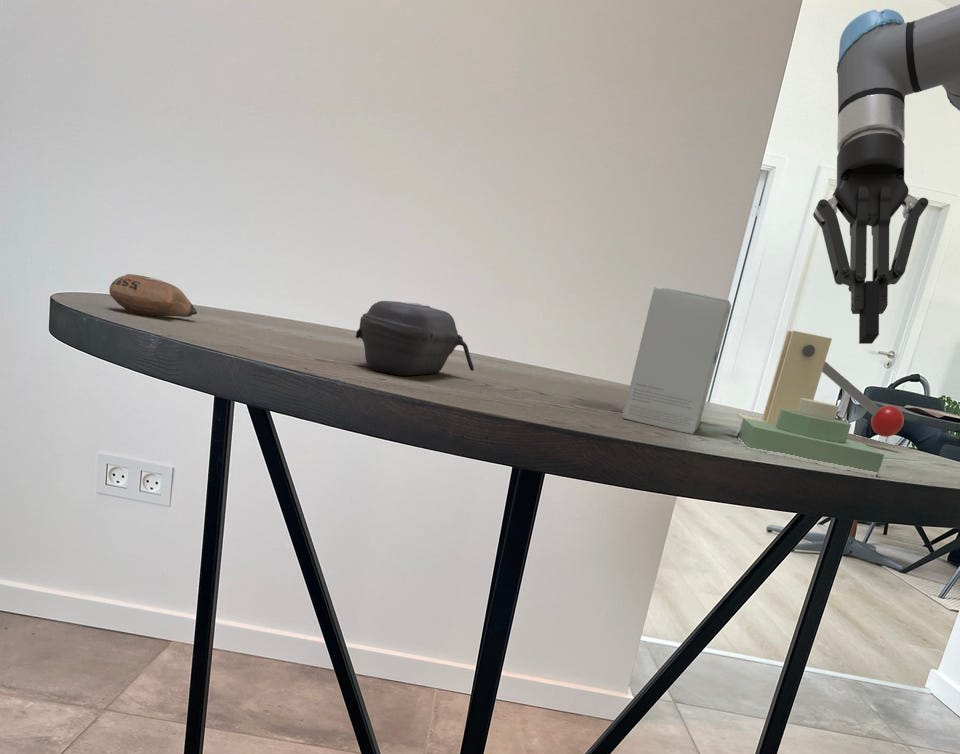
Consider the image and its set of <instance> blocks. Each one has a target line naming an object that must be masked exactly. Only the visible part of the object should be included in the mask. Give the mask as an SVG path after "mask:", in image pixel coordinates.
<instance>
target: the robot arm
mask: <svg viewBox="0 0 960 754" xmlns="http://www.w3.org/2000/svg"><path fill="white" fill-rule="evenodd" d="M836 74H837V141H836V143H837V144H836V146H837V147H836V148H837V156H836V187H835V189H834V191H833V194H832V196H830V197H829V198H827V199H824V198H822V199H819V200H818V202H817V205H816V207H815V208H814V210H813V214H812V216H813V218H814V219H815V221H816V222H817V224H818V225H819V227H820V228H821V232H822V235H823V239H824V244H825V247H826V251H827V256H828V259H829V264H830V267H831V271H832V275H833V280H834V282H835V284H836V285H837V286H841V285H845V286H848V287H847V288H848V291H849V293H850V311H851V314H852V315H859V316H858V318H859V319H858V323H859V325H858V344H859V345H860V344H862V345H873V343H874V342H875V340H877V338H878V337H879V335H880V315H883V314H884V313H885V311H886V309H887V307H888V304H889V303H888V301H889V297H888V295H889V292H888V291H889V286H890V285H896V284H897V283H899V282H900V279H901V278H902V277H903V275H904V274H905V272H906V268H907V266H908V261H909V257H910V255H911V250H912V246H913V243H914V238H915V235H916V231H917V229H918V228H917V227H918V223H919V220H920V218H921V216H922V214H923V213H924V212H925V210H926V208H927V207H928V205H929V199H928V198H927V197H920V198H919V199H918V198H916V197H915V196H913V195H911V194H910V193H909V191H910V190H909V187H908V185H907V183H906V181H905V143H904V141H905V138H906V129H905V125H906V124H905V123H906V122H905V121H906V120H905V108H906V107H905V104H906V103H905V101H906V96H909V95H912V94H917V93H920V92H923V91H927V90H930V89H934V88H936V87H940V86H941V87H942V88H943V89H944V90H945V93H946V97H947V100H948V101H949V103H950V104H951V105H952V106H953V107H954V108H955V109H956V110H958V112H960V3H959V4H957V5H954V6H952V7H949V8H946V9H943V10H940V11H938V12H935V13H932V14H930V15H927V16H924V17H921V18H919V19H916V20H913V21H907V22H905V19H904V17H903V16H902V14H901V13H900V12H898V11H896V10H894V9H889V8H885V9H883V10H880V11H877V9H871V10H869V11H865V12H864V13H862V14H860V15H858V16H856V17H855V18H853V19H852V20H851V21H850V22H849V23H848V24H847V25H846V26H845V28H844V29H843V31H842V33H841V36H840V39H839V49H838V61H837V66H836ZM901 206H902V208H903V210H902V216H903V217H902V218H903V219H904V221H903V223H902V226H901V229H900V232H899V235H898V240H897V244H896V247H895V251H894V255H893V259H892V262H891V266H890V225H891V221H892V218H893V216H894V215H895V214H896V213H897V211H898V210H899V209H900V207H901ZM838 212H840V213H841V215H842V216H843V218H844V219H845V220H846V221H847V223H849V236H850V253H849V254H850V256H849V257H850V261H849V258H848V255H847V250H846V246H845V243H844V237H843V235H842V231H841V226H840V224H839V223H840V222H839V218H838V216H837V213H838ZM868 227H871V230H870V231H871V232H870V234H871V236H872V270H871V271H872V277H871V278H872V280H866V279H867V251H868V250H867V248H868V247H867V244H868V242H867V240H868V238H867V237H868Z"/></svg>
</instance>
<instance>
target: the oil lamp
mask: <svg viewBox="0 0 960 754" xmlns="http://www.w3.org/2000/svg"><path fill="white" fill-rule="evenodd" d="M109 295H110V297H111V298H112V299H113V300H114V301H115V302H116V303H117V304H118V305H119V306H121V307H122V308H123V309H124V310H126V311H127V312H129V313H131V314H136V315H141V316H148V317H149V316H150V317H178V318H179V317H181V318H189V317H192V316H195V315H197V314H198V311H197V310H196V308H195V306H194V304H193V303H192V302H191V301H190V300H189V298H188V297H187V296H186V295H185V293H184V292H183V291H182V290H181V289H180V288H179V287H178V286H176V285H173V284H171V283H169V282H166V281H164V280H162V279H159V278H154V277H150V276H145V275H139V274H132V273H127V274H124V275H121V276H119V277H117V278H116V279H114V280H113V281H112V282H111V283H110V285H109Z"/></svg>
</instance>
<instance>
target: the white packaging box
mask: <svg viewBox="0 0 960 754" xmlns="http://www.w3.org/2000/svg"><path fill="white" fill-rule="evenodd" d="M651 294H652V295H651V299H650V302H649V307H648V311H647V314H646V319H645V322H644V327H643V330H642V335H641V339H640V343H639V348H638V351H637V355H636V360H635V364H634V369H633V371H632V372H633V373H632V376H631V380H630V385H629V388H628V393H627V397H626V401H625V404H624V408H623V414H622V418H623V419H624V420H629V421H632V422H637V423H640V424H645V425H649V426H654V427H658V428H662V429H666V430H671V431H675V432H680V433H683V432H685V433H684V434H688V433H690V434H689V435H693V434H695V431H697V430H698V429H699V427H700V423H701V420H702V416H703V412H704V409H705V406H706V402H707V399H708V394H709V391H710V387H711V383H712V381H713V376H714V373H715V369H716V365H717V361H718V358H719V354H720V350H721V347H722V342H723V339H724V336H725V332H726V328H727V324H728V321H729V316H730V314H731V308H732V304H731V302H730V300H729V299H726V298H721V297H716V296H712V295H711V296H710V295H706V294H700V293H696V292H691V291H687V290H681V289H677V288H671V287H666V286H665V287H664V286H654V287H653V290H652V293H651Z"/></svg>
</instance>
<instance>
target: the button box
mask: <svg viewBox="0 0 960 754" xmlns="http://www.w3.org/2000/svg"><path fill="white" fill-rule="evenodd" d="M851 426H852V424H851V423H849V422H847V421H843V420H839V419H836V418H835V421H832V420H826V419H821V418H817V417H812V416H808V415H804V414H800V413H797V411H794V410H789V409H780V413H779V416H778V420H777V423H776V424H771V423H766V422H761V421H757V420H752V419H747V418H743V420H741V424H740V428H739V432H738V435H737V438H738V437H739V438H740V439H741V440H742V442H744V444H745V445H746V446H747V447H750V448H756V449H763V450H767V451H773V452H780V453H785V454H790V455H795V456H799V457H803V458H807V459H812V460H817V461H823V462H828V463H834V464H838V465H843V466H849V467H854V468H858V469H863V470H868V471H873V472H878V473H879V471H880V469H881V466H882V464H883V463H882V462H883V460H884V457H885V454H884V453H883V452H881V451H879V450H876V449H874V448H872V447H870V446H869V445H867V444H865V443H862V442H861V441H855V440H851V439H848V436H849V433H850V429H851Z"/></svg>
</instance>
